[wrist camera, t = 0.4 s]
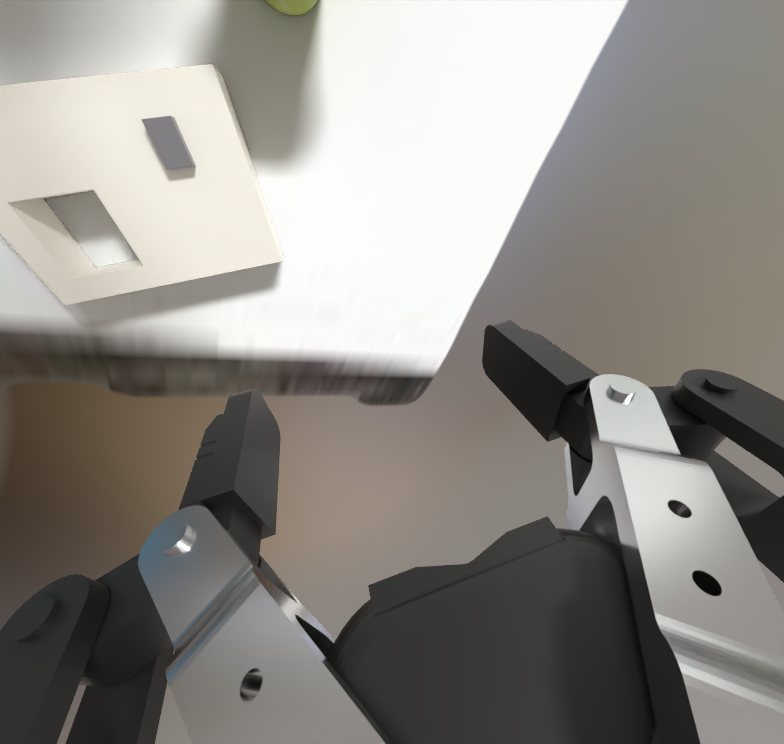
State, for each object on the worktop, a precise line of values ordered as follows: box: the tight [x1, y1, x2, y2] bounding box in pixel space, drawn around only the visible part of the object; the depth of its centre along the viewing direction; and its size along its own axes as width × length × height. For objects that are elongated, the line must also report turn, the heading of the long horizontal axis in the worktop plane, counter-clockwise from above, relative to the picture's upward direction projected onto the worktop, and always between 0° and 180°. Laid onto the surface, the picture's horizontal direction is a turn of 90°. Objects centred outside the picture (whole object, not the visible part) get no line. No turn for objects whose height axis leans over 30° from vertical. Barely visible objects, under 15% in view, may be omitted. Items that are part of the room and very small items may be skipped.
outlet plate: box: [0, 64, 283, 305], centre depth 24 cm, size 14×20×5 cm
